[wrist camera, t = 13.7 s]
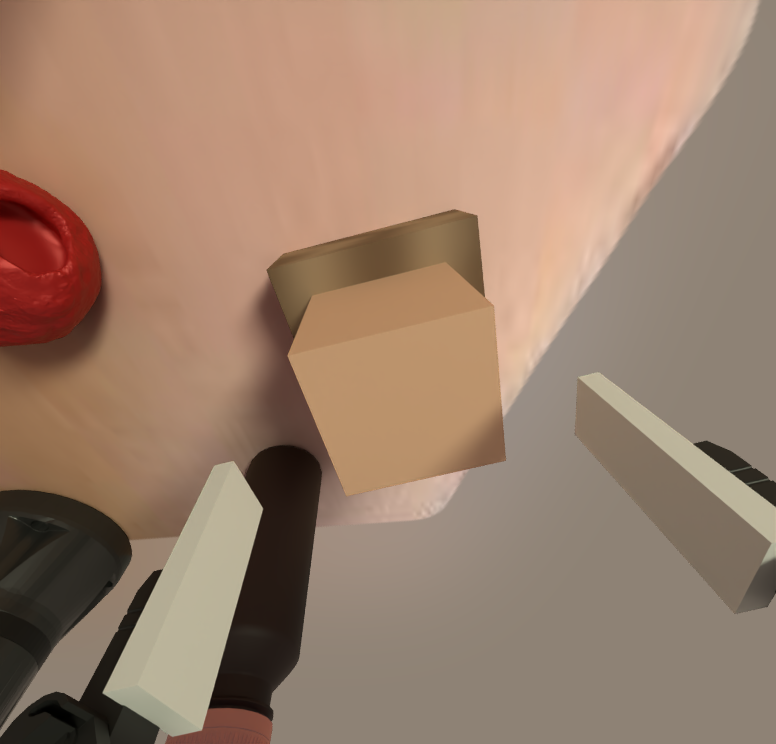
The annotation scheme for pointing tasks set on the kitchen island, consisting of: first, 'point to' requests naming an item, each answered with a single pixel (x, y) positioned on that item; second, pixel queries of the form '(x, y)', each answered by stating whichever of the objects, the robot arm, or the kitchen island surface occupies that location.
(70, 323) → the pomegranate
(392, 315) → the tan cube
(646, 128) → the kitchen island surface
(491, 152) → the kitchen island surface
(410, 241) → the walnut block
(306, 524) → the bottle
